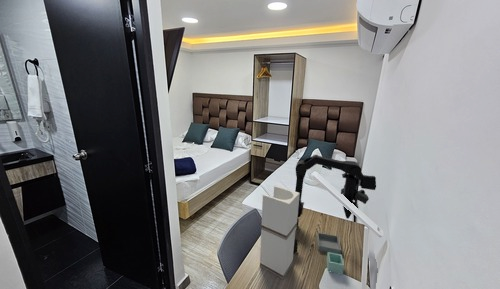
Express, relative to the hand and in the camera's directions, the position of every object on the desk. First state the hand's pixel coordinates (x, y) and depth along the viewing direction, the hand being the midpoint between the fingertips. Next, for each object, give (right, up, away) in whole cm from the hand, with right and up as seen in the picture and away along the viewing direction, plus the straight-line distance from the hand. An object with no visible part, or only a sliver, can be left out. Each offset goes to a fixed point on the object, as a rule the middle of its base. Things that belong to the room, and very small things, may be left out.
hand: (346, 213), depth 106 cm
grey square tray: (-11, -15, -3) cm, 19 cm away
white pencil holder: (-39, -18, -16) cm, 46 cm away
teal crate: (-13, -19, -16) cm, 28 cm away
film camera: (-34, -15, -3) cm, 37 cm away
